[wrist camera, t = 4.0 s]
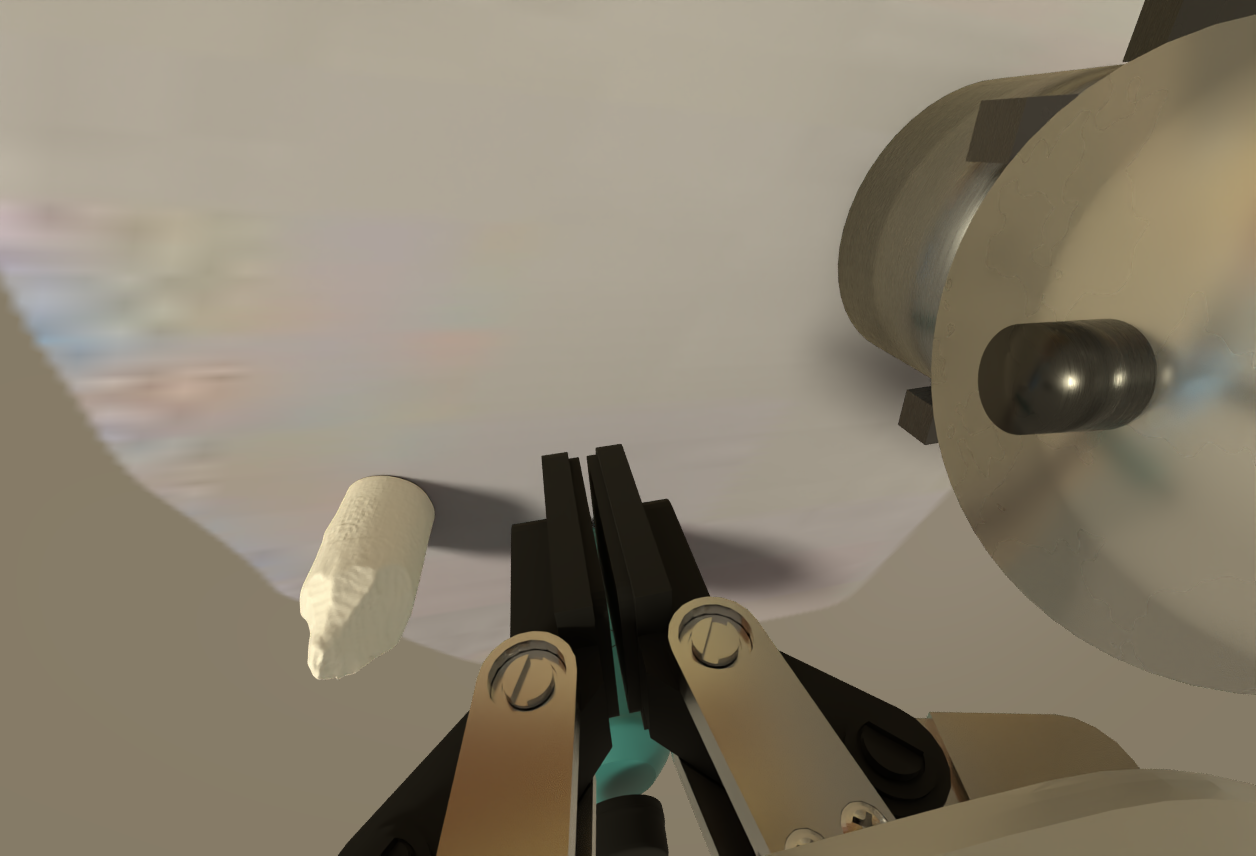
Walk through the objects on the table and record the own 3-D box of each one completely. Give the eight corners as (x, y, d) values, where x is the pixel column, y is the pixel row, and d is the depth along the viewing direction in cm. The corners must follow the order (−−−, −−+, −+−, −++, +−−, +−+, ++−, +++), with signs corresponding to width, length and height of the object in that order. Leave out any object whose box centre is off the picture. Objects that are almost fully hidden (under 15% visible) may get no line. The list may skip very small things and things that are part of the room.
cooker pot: (853, 38, 25) (1062, -20, 15) (1141, 25, 27) (1478, -32, 18) (803, 396, 35) (910, 494, 26) (1015, 365, 37) (1185, 444, 28)
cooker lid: (1040, 55, 17) (935, 62, 17) (2882, -256, 3) (2297, -213, 3) (923, 451, 26) (852, 455, 26) (1291, 842, 12) (1134, 849, 12)
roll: (427, 679, 25) (332, 728, 25) (452, 519, 35) (384, 556, 35) (334, 614, 21) (228, 671, 22) (392, 459, 32) (318, 500, 32)
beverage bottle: (637, 528, 38) (734, 841, 21) (589, 586, 40) (643, 911, 24) (564, 497, 36) (609, 829, 19) (517, 561, 38) (519, 910, 21)
